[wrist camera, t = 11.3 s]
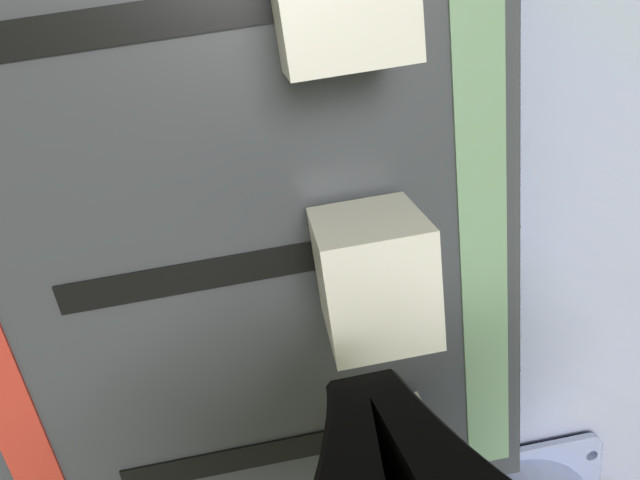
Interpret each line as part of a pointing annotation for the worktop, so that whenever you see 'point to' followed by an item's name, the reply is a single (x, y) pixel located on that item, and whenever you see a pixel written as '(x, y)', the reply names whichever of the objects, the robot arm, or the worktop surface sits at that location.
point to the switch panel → (235, 233)
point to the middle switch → (378, 279)
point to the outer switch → (347, 36)
